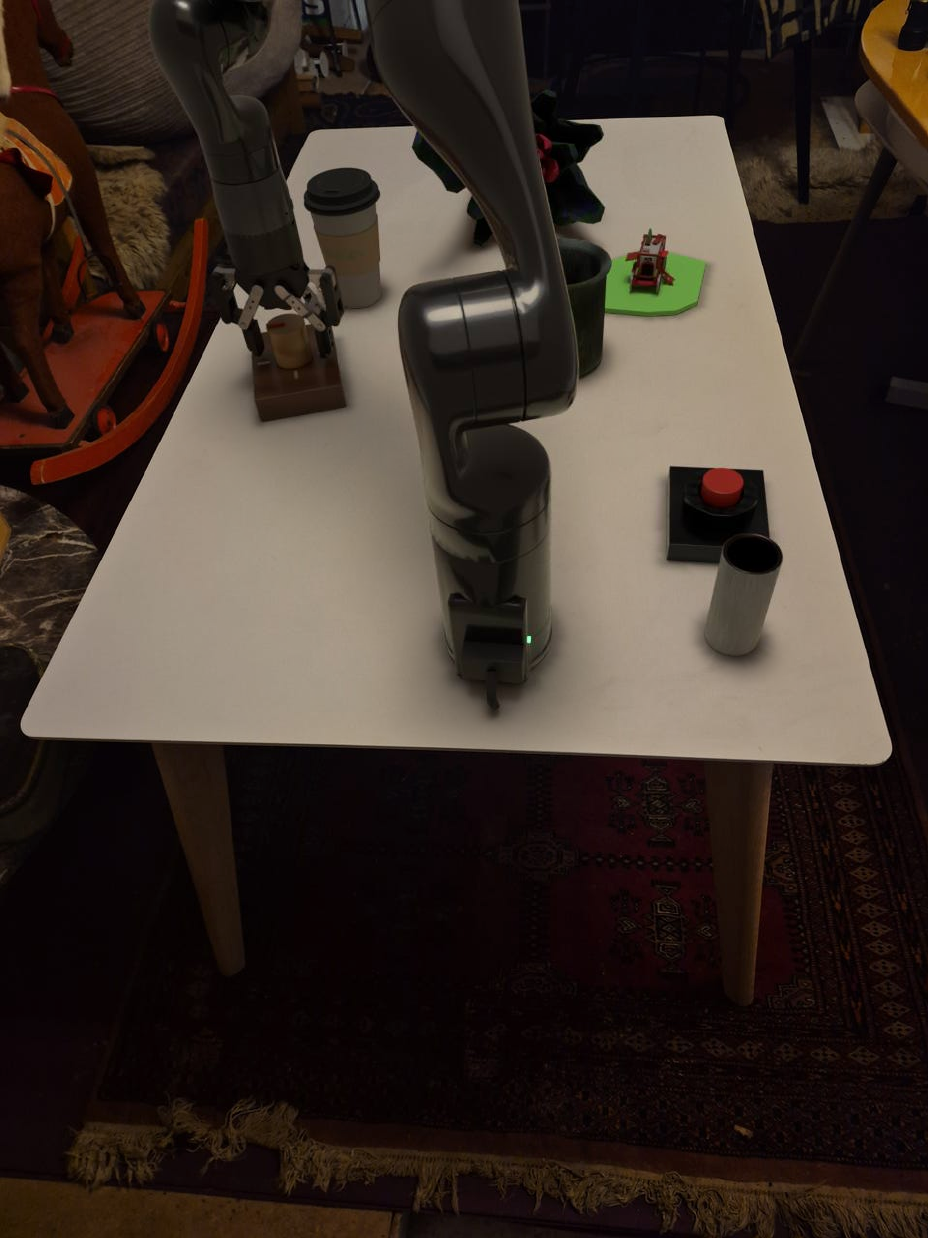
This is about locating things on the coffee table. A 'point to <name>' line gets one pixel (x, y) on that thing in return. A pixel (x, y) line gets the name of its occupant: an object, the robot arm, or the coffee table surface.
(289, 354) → the knob
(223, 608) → the coffee table surface
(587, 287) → the mug
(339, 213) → the coffee cup
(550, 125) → the decorative plant
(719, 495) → the button
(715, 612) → the planter
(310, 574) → the coffee table surface
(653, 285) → the toy diorama
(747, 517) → the button block
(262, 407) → the panel
